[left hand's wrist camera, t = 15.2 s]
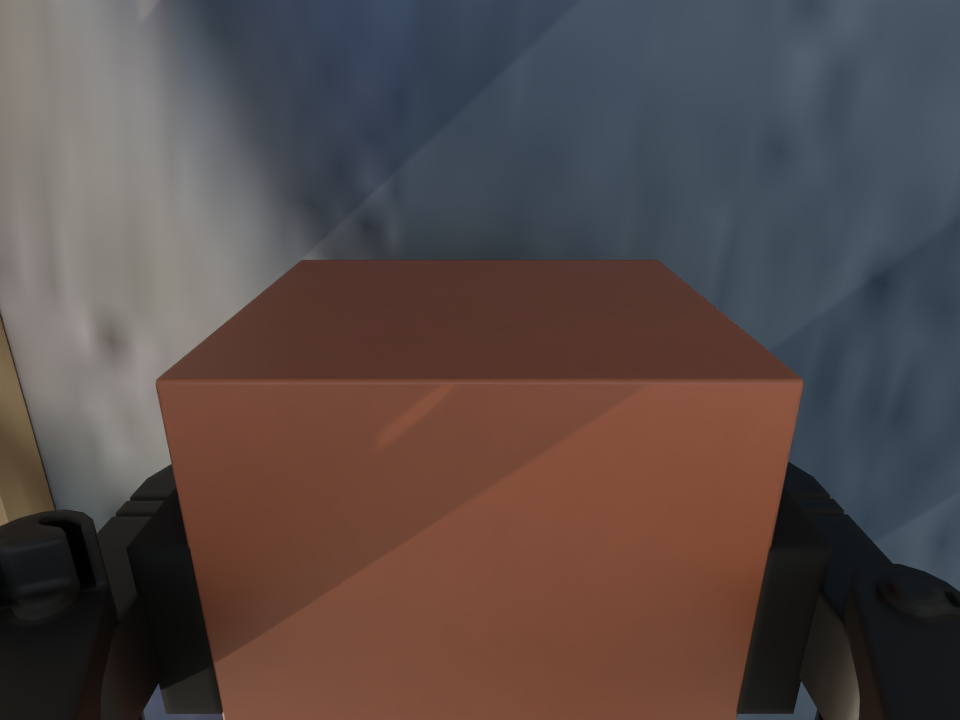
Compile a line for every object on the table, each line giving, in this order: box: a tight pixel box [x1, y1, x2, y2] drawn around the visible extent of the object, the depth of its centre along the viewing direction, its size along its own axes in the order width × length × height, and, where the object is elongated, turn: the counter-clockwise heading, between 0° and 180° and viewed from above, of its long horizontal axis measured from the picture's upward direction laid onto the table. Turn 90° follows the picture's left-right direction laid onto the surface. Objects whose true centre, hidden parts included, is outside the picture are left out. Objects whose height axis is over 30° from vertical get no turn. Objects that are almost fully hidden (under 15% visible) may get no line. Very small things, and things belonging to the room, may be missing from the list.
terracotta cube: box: [156, 260, 804, 720], centre depth 11 cm, size 7×7×6 cm
